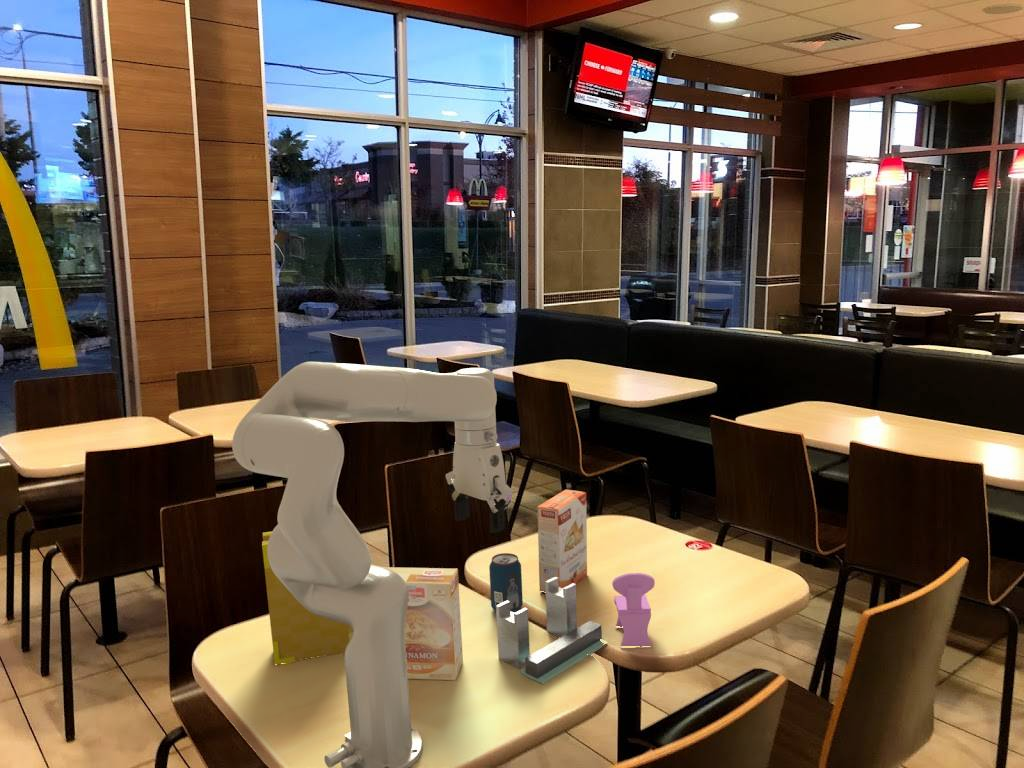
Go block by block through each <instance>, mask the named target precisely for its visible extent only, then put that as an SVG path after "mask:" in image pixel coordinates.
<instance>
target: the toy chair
mask: <svg viewBox="0 0 1024 768" xmlns="http://www.w3.org/2000/svg"><path fill="white" fill-rule="evenodd" d="M655 583H656V582H655V578H654V577H653V576H651V575H649V574H646V573H643V572H629V573H625V574H624V573H623V574H620V575H618V576H617V577H614V579H613V580H612V583H611V585H612V588H613V590H614V591H615V592H616V593H618V595H614V596H613V597H614V600H613V601H614V604H615V606H616V610H617V615H618V617H617V620H616V624H615V626H620V627H622V626H623V629H622V630H623V637H622V641H621V643H620V646H640V647H642V646H652V647H653V645H652V643H651V640H650V638H649V633H648V628H649V624H650V620H651V617H652V612H651V611H652V609H651V608H652V607H651V605H650V604H649V601H648V598H647V595H646V594H647V593H648V592H650V591H652V590H653V589H654V588H655Z"/></svg>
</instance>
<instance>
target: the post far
mask: <svg viewBox="0 0 1024 768" xmlns="http://www.w3.org/2000/svg"><path fill="white" fill-rule="evenodd" d="M545 588H546V593H545V611H546V631H547V632H548V633H550V634H553V635H555V636H557V637H559V638H561V637H562V636H564V635H566V634H568V633H569V632H571V631H573V630H575V629H576V628H578V619H577V617H578V616H577V612H578V611H577V583H576V584H574V583H572V584H570V585H568V586H566V587H564V588H560V587H558V578H557V577H553V578H551V579H549V580H547V581H545Z"/></svg>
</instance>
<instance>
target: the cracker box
mask: <svg viewBox="0 0 1024 768" xmlns="http://www.w3.org/2000/svg"><path fill="white" fill-rule="evenodd" d="M587 518H588V517H587V492H585V491H579V490H573V489H564V490H562V491H561V492H559V493H558V494H556V495H554V496H553V497H551V498H549V499H547V500H546V501H544V502H542V503H541V504H539V505H538V506H537V534H538V535H537V538H538V541H537V545H538V577H539V579H538V580H539V581H538V583H539V592H540V591H544V592H546V588H545V581H547V580H549V579H551V578H553V577H557V578H558V587H560V588H564V587H566V586H568V585H570V584H572V583H574V584H576V585H577V583H579V582H580V581H581V580H582V579H583V578H584V577H586V576H587V575H588V548H587V547H588V543H587V542H588V540H587V539H588V537H587V534H588V531H587V528H588V527H587V520H588V519H587Z"/></svg>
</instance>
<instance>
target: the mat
mask: <svg viewBox="0 0 1024 768" xmlns="http://www.w3.org/2000/svg"><path fill="white" fill-rule="evenodd" d="M603 644H604V643H602V642H601V641H598V642H596V643H595V644H593V645H592V646H590V647H588V648H587V649H585V650H583V651H582V652H580V653H579V654H577V655H575V656H574V657H572V658H570V659H569V660H567V661H566V662H564V663H562V664H561V665H559V666H557V667H556V668H554V669H552V670H551V671H549V672H548V673H546V674H544V675H543V676H541V677H539V678H538V679H537V678H535V677H533V676H531V675H528V674H526V673H525V667H524V668H522V669H520V674H521V675H524V676H525V677H527V678H530V679H532V680H533V681H535V682H537V683H540V684H542V685H544V684H545V683H547V682H549V681H550V680H552V679H553V678H555V677H557V676H558V675H560V674H561V673H563V672H564V671H566V670H567V669H569V668H571V667H573V666H574V665H576V664H577V663H579V662H581V661H582V660H584V659H585V658H587V657H590V655H592V654H593V653H595V652H597V651H598V650H600V649H602V648H603V647H604V646H603ZM602 646H603V647H602ZM587 654H588V655H587Z"/></svg>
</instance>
